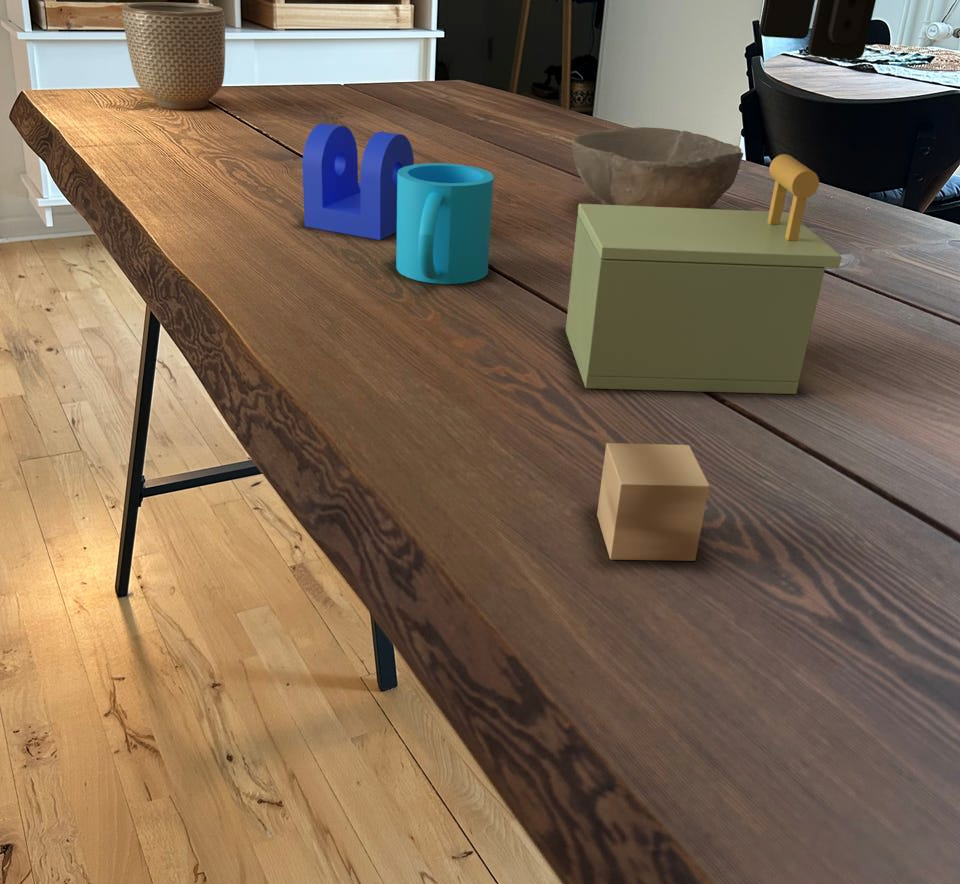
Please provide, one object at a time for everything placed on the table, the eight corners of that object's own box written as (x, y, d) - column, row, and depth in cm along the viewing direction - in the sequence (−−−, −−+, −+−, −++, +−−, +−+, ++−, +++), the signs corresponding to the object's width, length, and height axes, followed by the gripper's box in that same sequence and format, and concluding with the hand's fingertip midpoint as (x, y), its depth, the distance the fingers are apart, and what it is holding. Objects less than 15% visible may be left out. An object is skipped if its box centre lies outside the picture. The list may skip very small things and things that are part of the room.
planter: (200, 94, 159) (193, 1, 152) (249, 109, 150) (243, 11, 144) (115, 101, 151) (103, 2, 144) (161, 117, 142) (151, 13, 135)
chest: (752, 337, 80) (775, 223, 76) (796, 394, 71) (825, 268, 67) (565, 331, 79) (577, 215, 75) (585, 388, 70) (600, 259, 65)
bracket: (380, 240, 98) (380, 140, 93) (304, 226, 100) (301, 129, 95) (458, 200, 112) (461, 112, 107) (390, 189, 114) (391, 103, 110)
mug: (407, 251, 95) (409, 159, 91) (495, 260, 94) (500, 168, 90) (374, 292, 85) (374, 191, 80) (472, 302, 84) (477, 201, 80)
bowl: (599, 187, 121) (607, 115, 117) (747, 212, 115) (761, 136, 110) (539, 220, 107) (546, 139, 103) (704, 250, 101) (718, 165, 96)
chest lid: (787, 222, 76) (803, 146, 73) (839, 268, 67) (859, 182, 64) (577, 214, 75) (585, 136, 72) (600, 259, 65) (610, 172, 63)
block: (676, 516, 56) (689, 444, 54) (695, 561, 52) (710, 485, 50) (596, 515, 56) (606, 442, 53) (609, 560, 52) (620, 483, 50)
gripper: (1026, -324, 48) (923, 70, 57) (882, -273, 63) (818, 34, 72) (872, -338, 48) (792, 62, 57) (763, -283, 62) (713, 27, 71)
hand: (806, 46), depth 64 cm, fingers open, 9 cm apart
